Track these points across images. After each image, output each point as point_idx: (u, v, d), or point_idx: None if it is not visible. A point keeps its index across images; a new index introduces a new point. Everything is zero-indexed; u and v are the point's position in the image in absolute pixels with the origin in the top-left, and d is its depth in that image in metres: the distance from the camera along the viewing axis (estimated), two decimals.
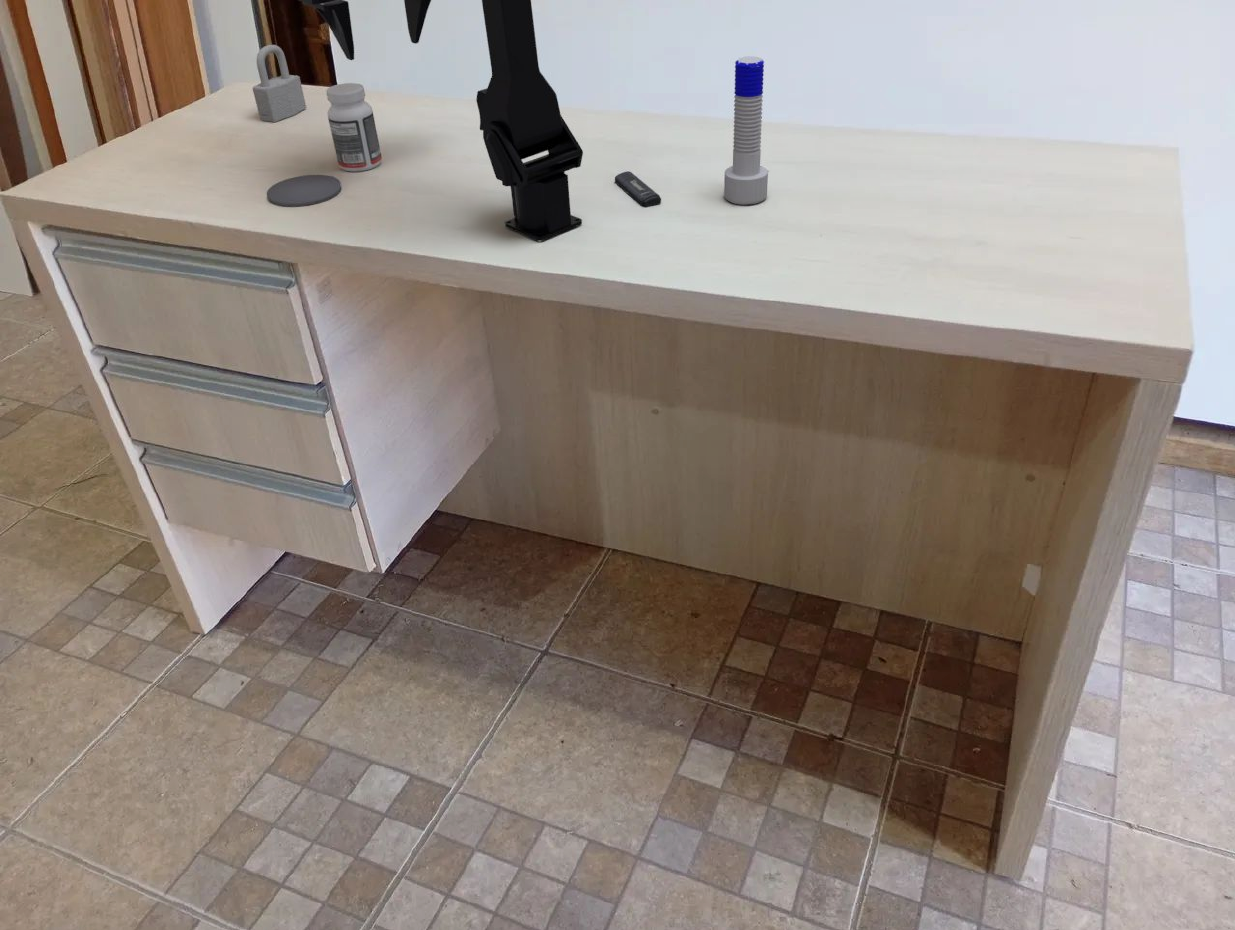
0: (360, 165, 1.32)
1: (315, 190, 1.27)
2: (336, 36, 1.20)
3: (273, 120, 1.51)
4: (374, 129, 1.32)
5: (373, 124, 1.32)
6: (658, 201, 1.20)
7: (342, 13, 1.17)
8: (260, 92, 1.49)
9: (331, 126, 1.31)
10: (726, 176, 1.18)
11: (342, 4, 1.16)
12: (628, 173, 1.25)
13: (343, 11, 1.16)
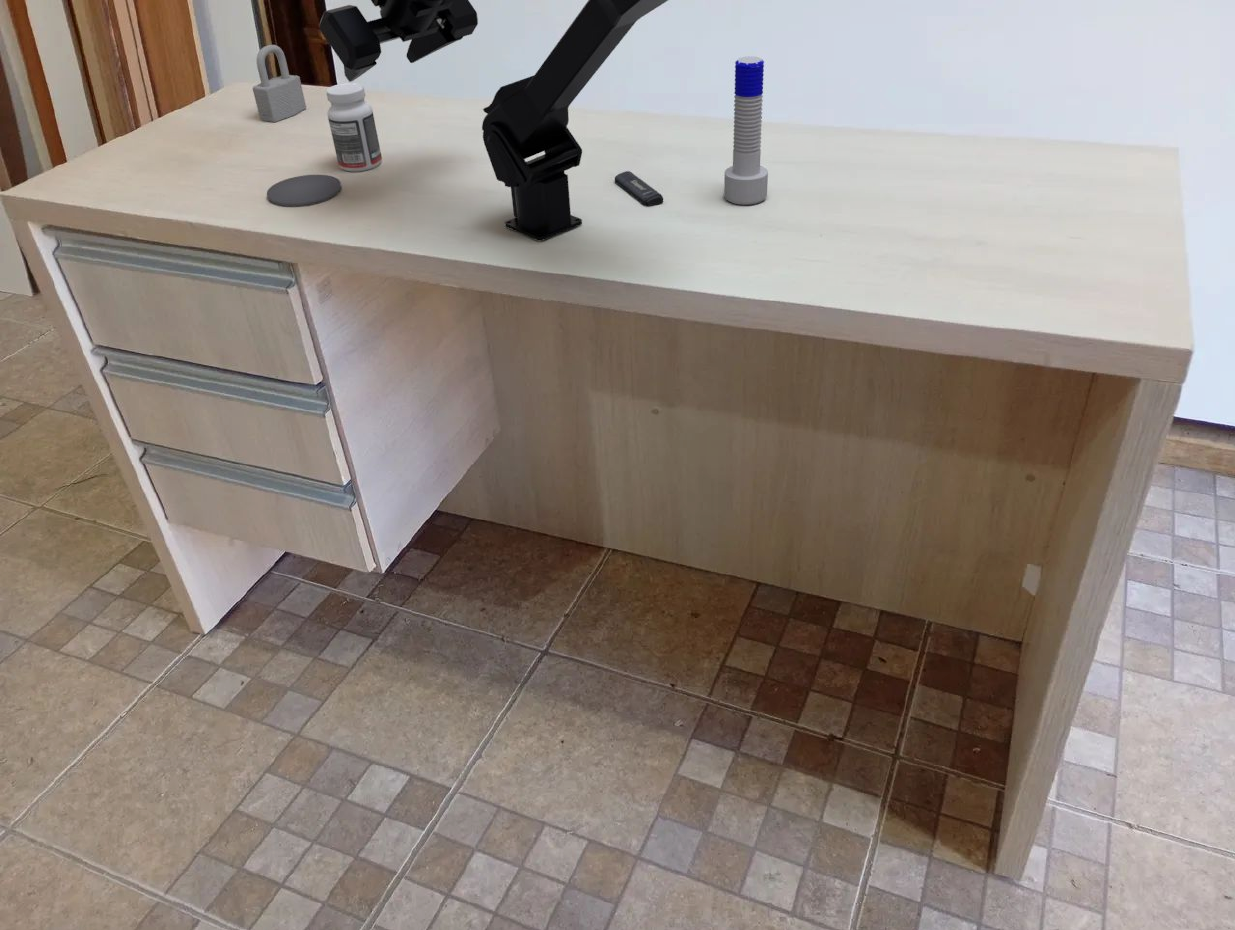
0: (360, 165, 1.32)
1: (315, 190, 1.27)
2: None
3: (273, 120, 1.51)
4: (374, 129, 1.32)
5: (373, 124, 1.32)
6: (660, 200, 1.20)
7: (366, 69, 1.15)
8: (260, 92, 1.49)
9: (331, 126, 1.31)
10: (726, 176, 1.18)
11: (370, 66, 1.14)
12: (628, 173, 1.25)
13: (368, 68, 1.15)
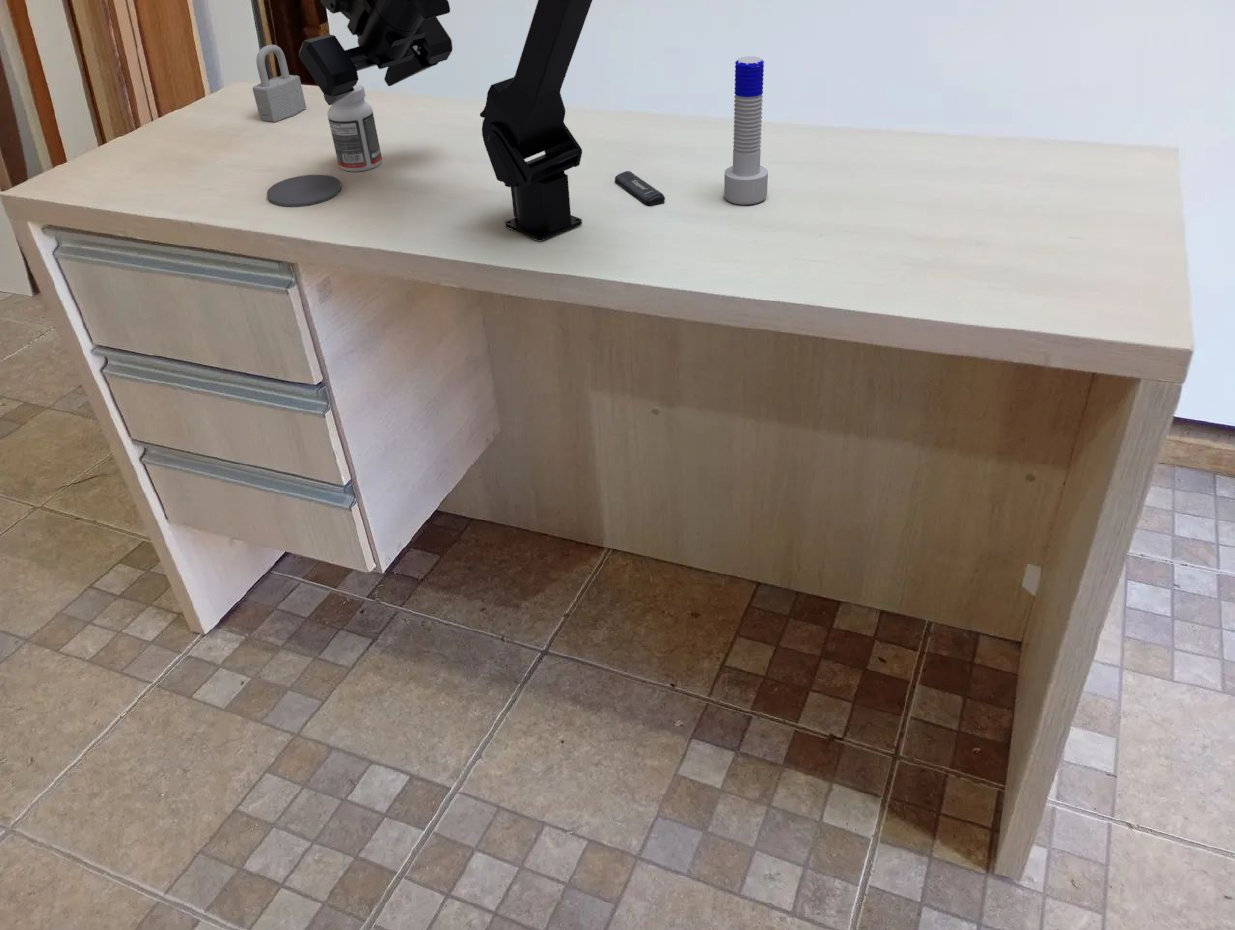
0: (360, 165, 1.32)
1: (315, 190, 1.27)
2: None
3: (273, 120, 1.51)
4: (374, 129, 1.32)
5: (373, 124, 1.32)
6: (662, 200, 1.20)
7: (344, 94, 1.20)
8: (260, 92, 1.49)
9: (331, 126, 1.31)
10: (726, 176, 1.18)
11: (348, 92, 1.19)
12: (628, 173, 1.26)
13: (346, 93, 1.20)
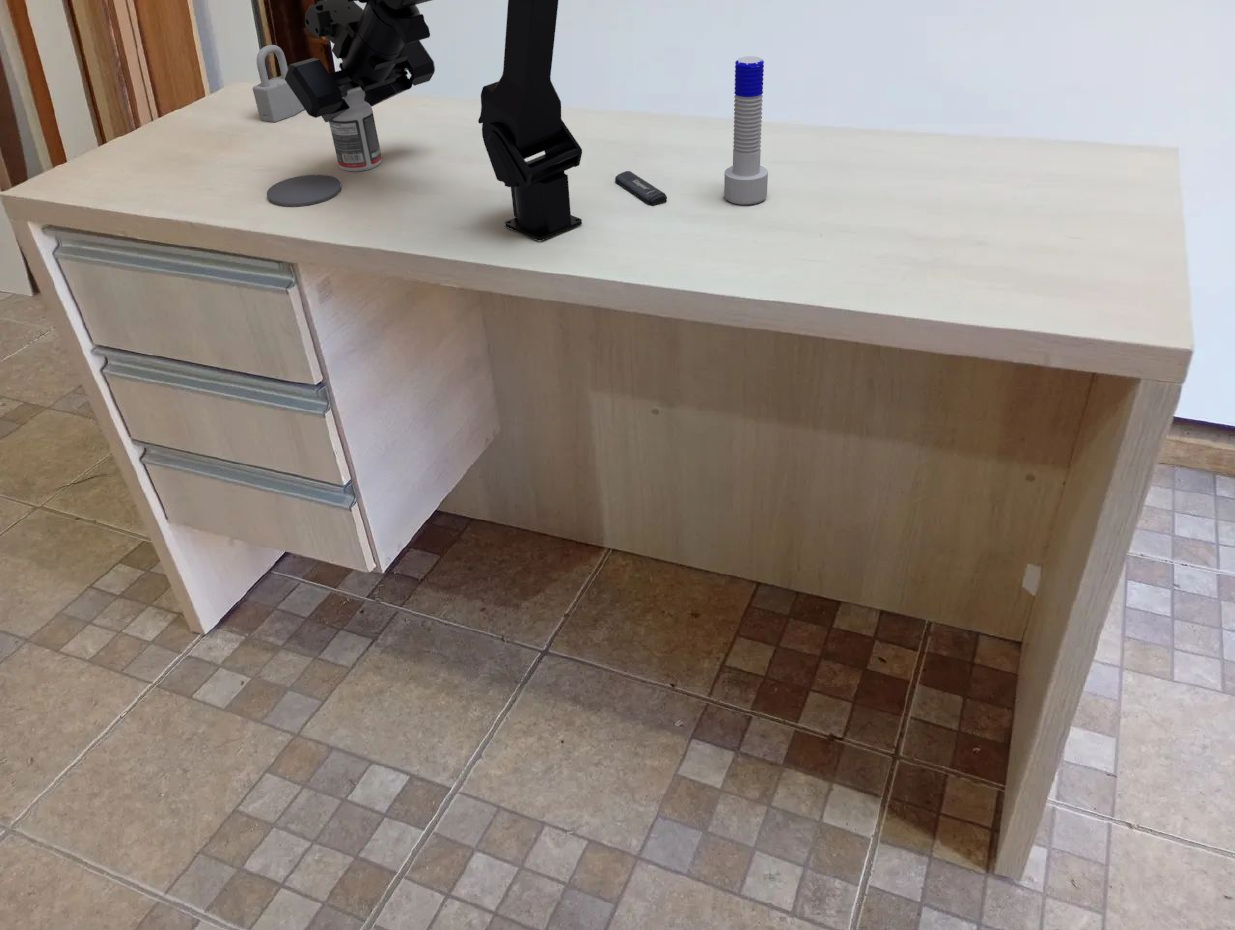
0: (360, 165, 1.32)
1: (315, 190, 1.27)
2: None
3: (273, 120, 1.51)
4: (374, 129, 1.32)
5: (373, 124, 1.32)
6: (664, 199, 1.20)
7: (340, 112, 1.25)
8: (260, 92, 1.49)
9: (331, 126, 1.31)
10: (726, 176, 1.18)
11: (344, 110, 1.24)
12: (628, 173, 1.26)
13: (342, 111, 1.25)
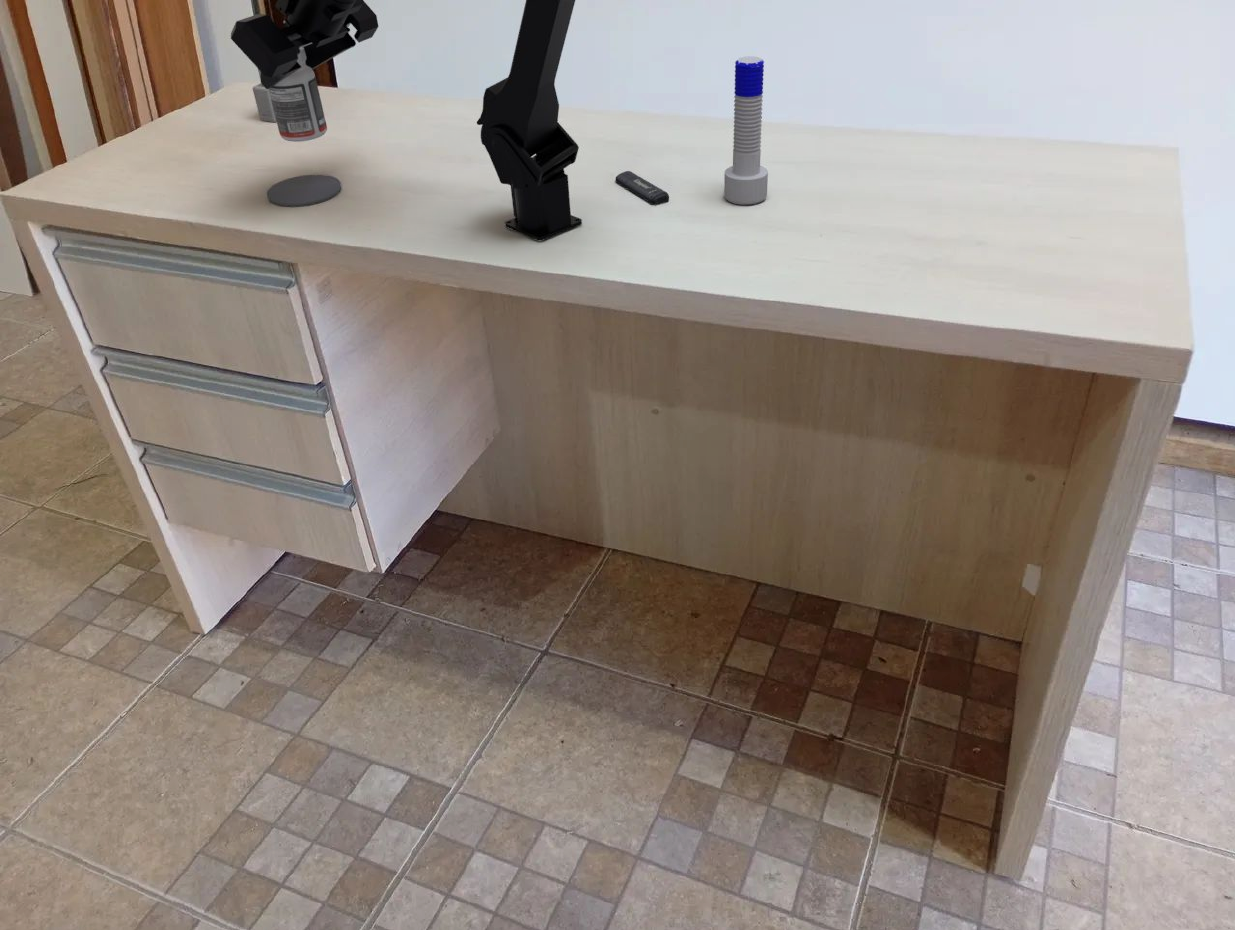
0: (308, 133, 1.23)
1: (315, 190, 1.27)
2: None
3: (273, 120, 1.51)
4: (318, 94, 1.23)
5: (317, 88, 1.23)
6: (667, 198, 1.20)
7: (290, 73, 1.15)
8: (260, 92, 1.49)
9: (273, 93, 1.21)
10: (726, 176, 1.18)
11: (296, 69, 1.15)
12: (629, 172, 1.26)
13: (292, 72, 1.16)
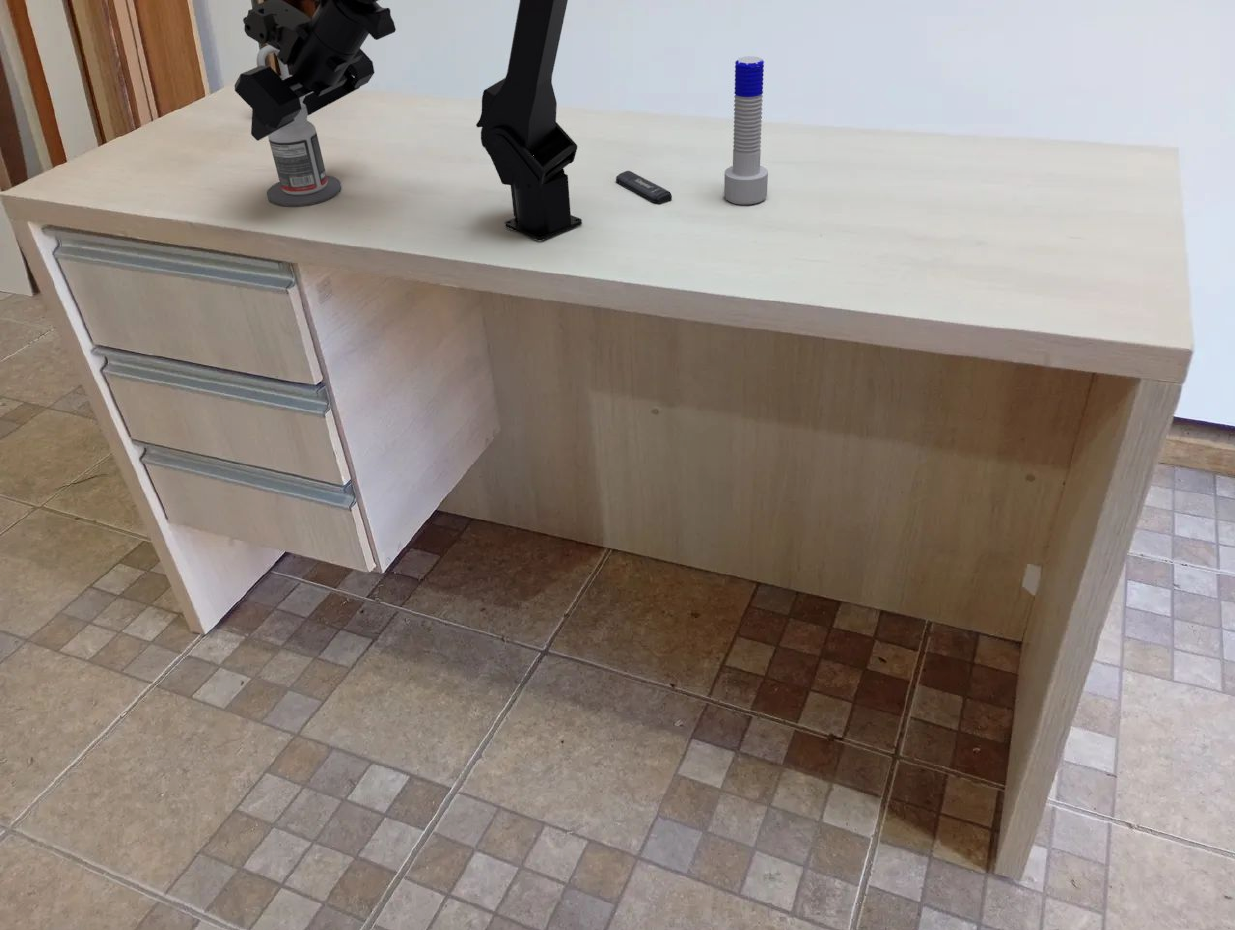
0: (310, 187, 1.25)
1: None
2: (255, 121, 1.18)
3: None
4: (319, 148, 1.25)
5: (318, 143, 1.25)
6: (670, 198, 1.20)
7: None
8: None
9: (275, 149, 1.23)
10: (726, 176, 1.18)
11: (289, 123, 1.15)
12: (629, 172, 1.26)
13: (285, 125, 1.16)
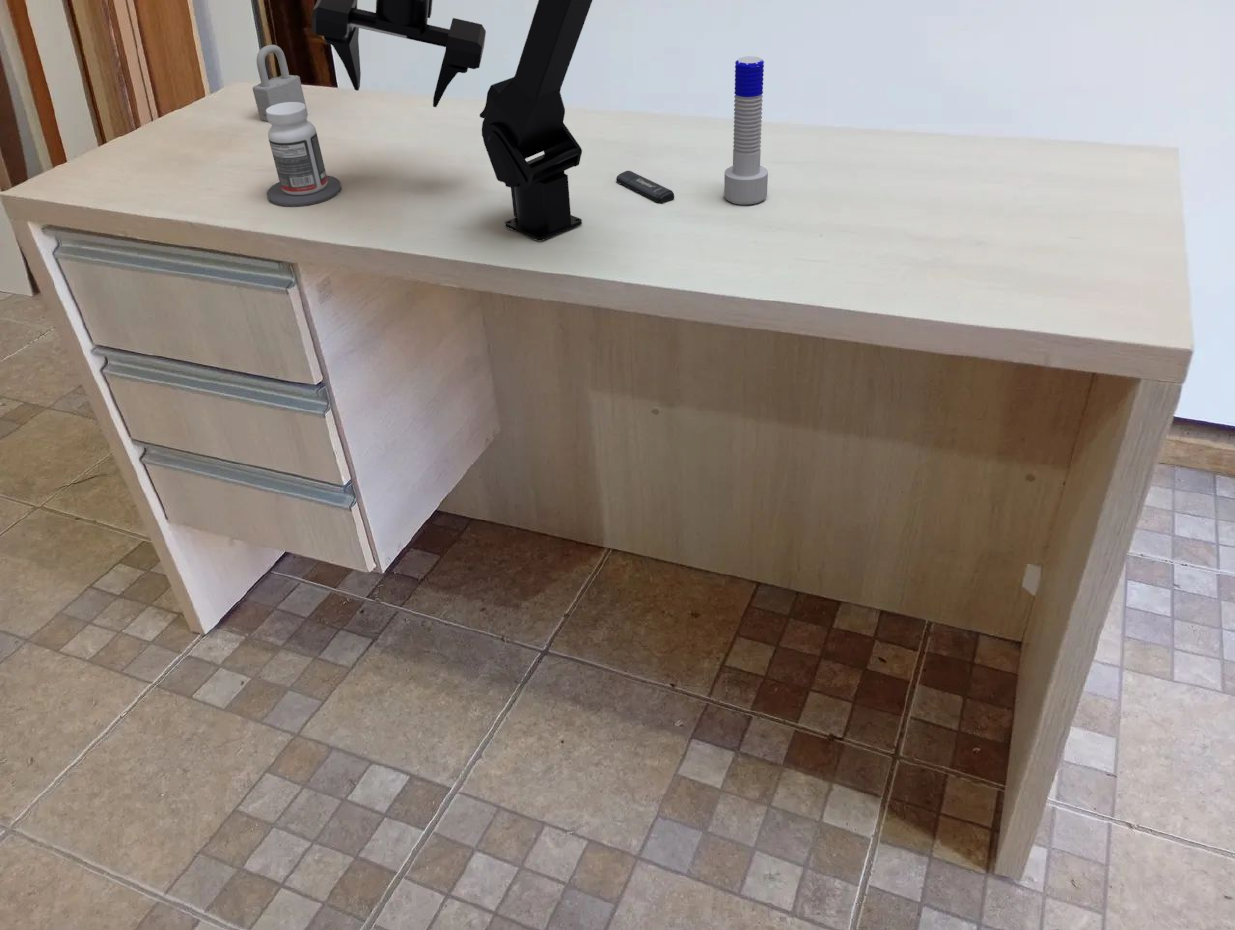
0: (310, 187, 1.25)
1: None
2: None
3: None
4: (319, 148, 1.25)
5: (318, 143, 1.25)
6: (672, 197, 1.21)
7: (342, 51, 1.15)
8: (260, 92, 1.49)
9: (275, 149, 1.22)
10: (726, 176, 1.18)
11: (342, 44, 1.14)
12: (629, 172, 1.26)
13: (344, 50, 1.15)
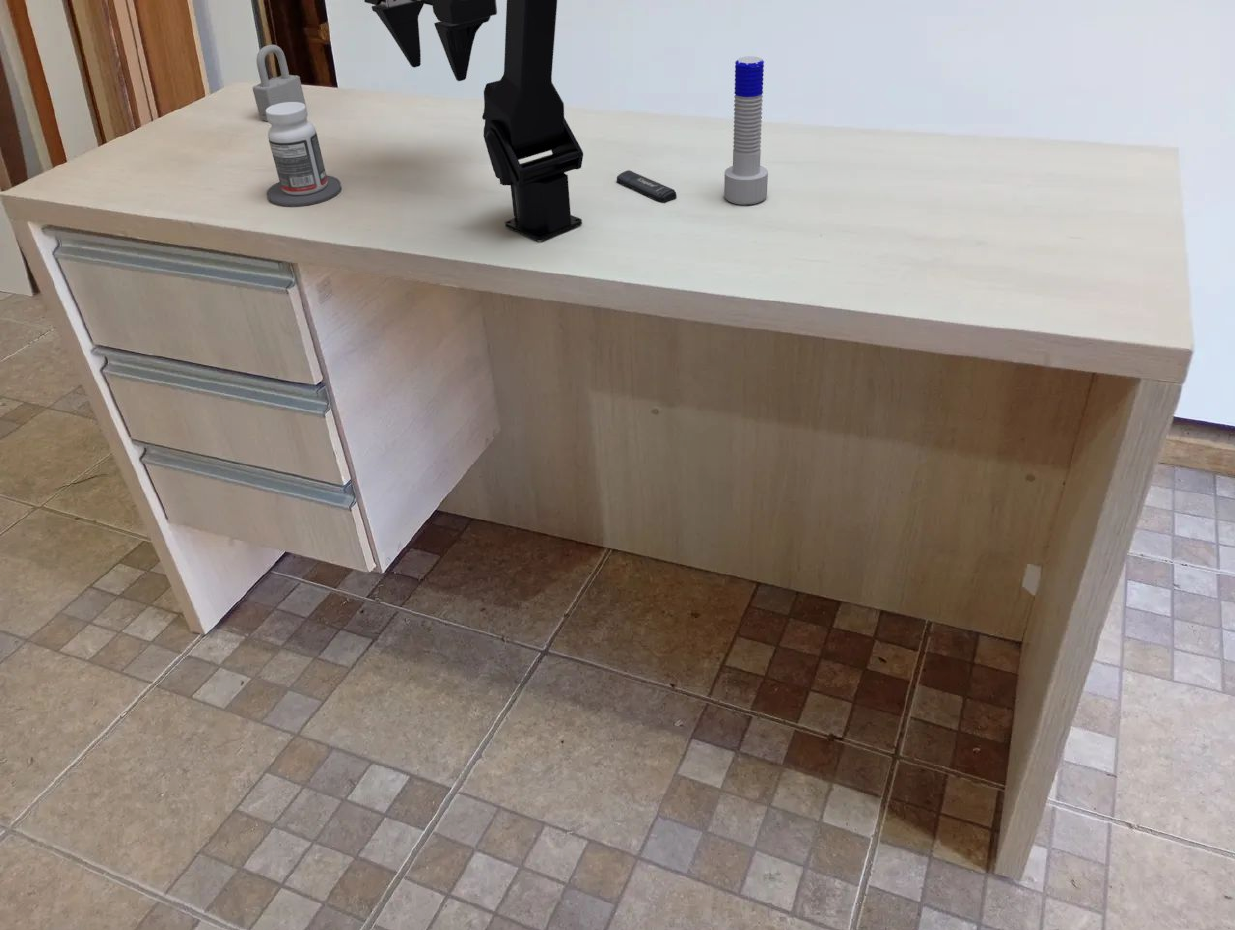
0: (310, 187, 1.25)
1: None
2: None
3: None
4: (319, 148, 1.25)
5: (318, 143, 1.25)
6: (675, 196, 1.21)
7: (383, 19, 1.20)
8: (260, 92, 1.49)
9: (275, 149, 1.22)
10: (726, 176, 1.18)
11: (379, 10, 1.20)
12: (630, 172, 1.26)
13: (383, 17, 1.20)
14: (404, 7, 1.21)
